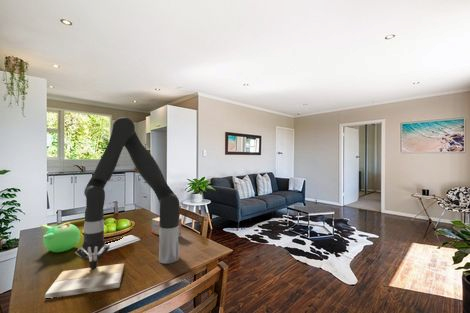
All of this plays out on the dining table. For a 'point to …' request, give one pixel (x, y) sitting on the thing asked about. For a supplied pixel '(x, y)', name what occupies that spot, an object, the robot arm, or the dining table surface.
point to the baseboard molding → (118, 243)
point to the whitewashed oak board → (84, 285)
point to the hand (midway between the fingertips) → (93, 268)
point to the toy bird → (60, 237)
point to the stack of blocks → (156, 226)
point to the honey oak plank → (90, 272)
